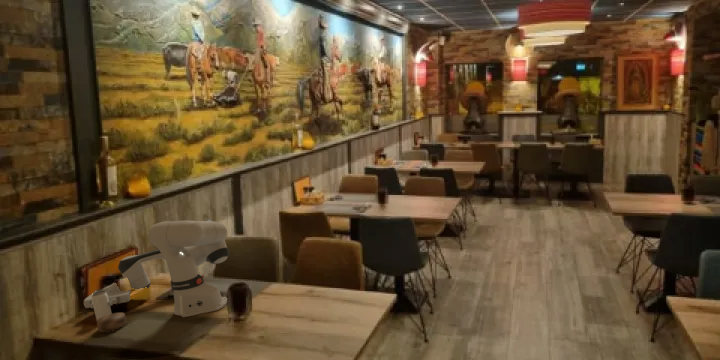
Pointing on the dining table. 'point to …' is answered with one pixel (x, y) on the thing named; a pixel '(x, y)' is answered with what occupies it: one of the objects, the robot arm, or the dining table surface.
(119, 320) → the brown rounded flat block
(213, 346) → the dining table surface
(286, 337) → the dining table surface
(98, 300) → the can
